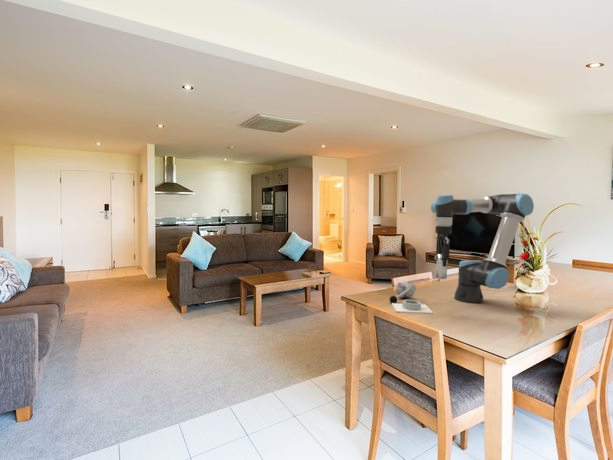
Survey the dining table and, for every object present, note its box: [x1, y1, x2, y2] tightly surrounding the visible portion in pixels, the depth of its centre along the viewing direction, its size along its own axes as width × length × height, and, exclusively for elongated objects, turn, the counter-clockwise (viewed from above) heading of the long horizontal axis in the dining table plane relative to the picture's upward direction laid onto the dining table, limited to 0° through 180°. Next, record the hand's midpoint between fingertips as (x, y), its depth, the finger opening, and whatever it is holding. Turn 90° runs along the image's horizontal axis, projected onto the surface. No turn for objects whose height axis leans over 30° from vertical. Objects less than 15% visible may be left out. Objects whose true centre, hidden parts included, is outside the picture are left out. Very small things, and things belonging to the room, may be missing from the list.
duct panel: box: [391, 299, 434, 315], centre depth 170 cm, size 18×14×4 cm
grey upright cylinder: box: [434, 254, 448, 280], centre depth 165 cm, size 6×5×12 cm
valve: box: [389, 279, 417, 304], centre depth 187 cm, size 10×18×15 cm
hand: (441, 271), depth 165 cm, fingers closed on grey upright cylinder, 5 cm apart
